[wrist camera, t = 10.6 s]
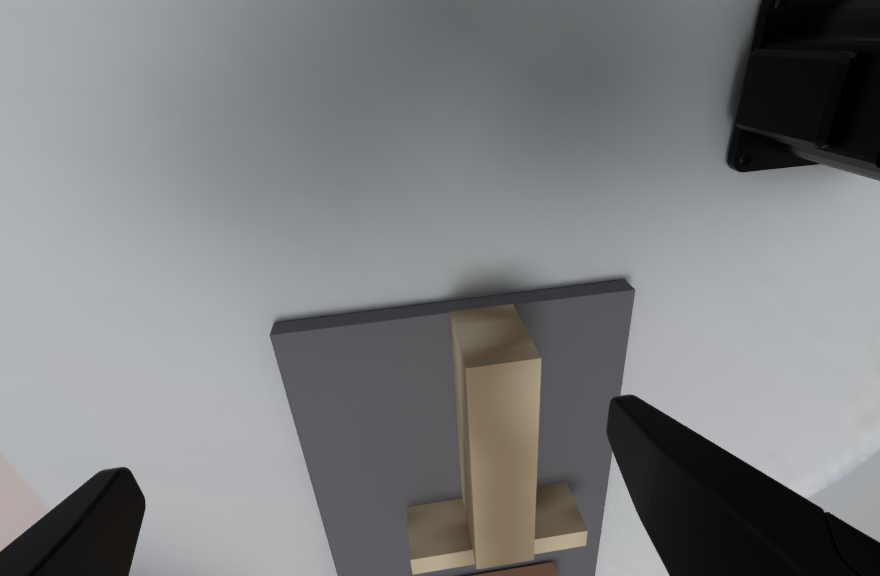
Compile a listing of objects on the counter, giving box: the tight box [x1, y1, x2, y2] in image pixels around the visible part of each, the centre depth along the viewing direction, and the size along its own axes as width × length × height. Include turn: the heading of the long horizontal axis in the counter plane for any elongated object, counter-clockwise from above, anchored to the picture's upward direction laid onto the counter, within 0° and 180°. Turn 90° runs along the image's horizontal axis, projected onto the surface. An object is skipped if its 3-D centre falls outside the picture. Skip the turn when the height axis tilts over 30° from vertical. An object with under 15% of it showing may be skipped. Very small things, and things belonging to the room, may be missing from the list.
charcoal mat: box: [270, 280, 635, 576], centre depth 28 cm, size 16×27×1 cm, turn 4°
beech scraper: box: [406, 304, 588, 575], centre depth 22 cm, size 9×13×4 cm
